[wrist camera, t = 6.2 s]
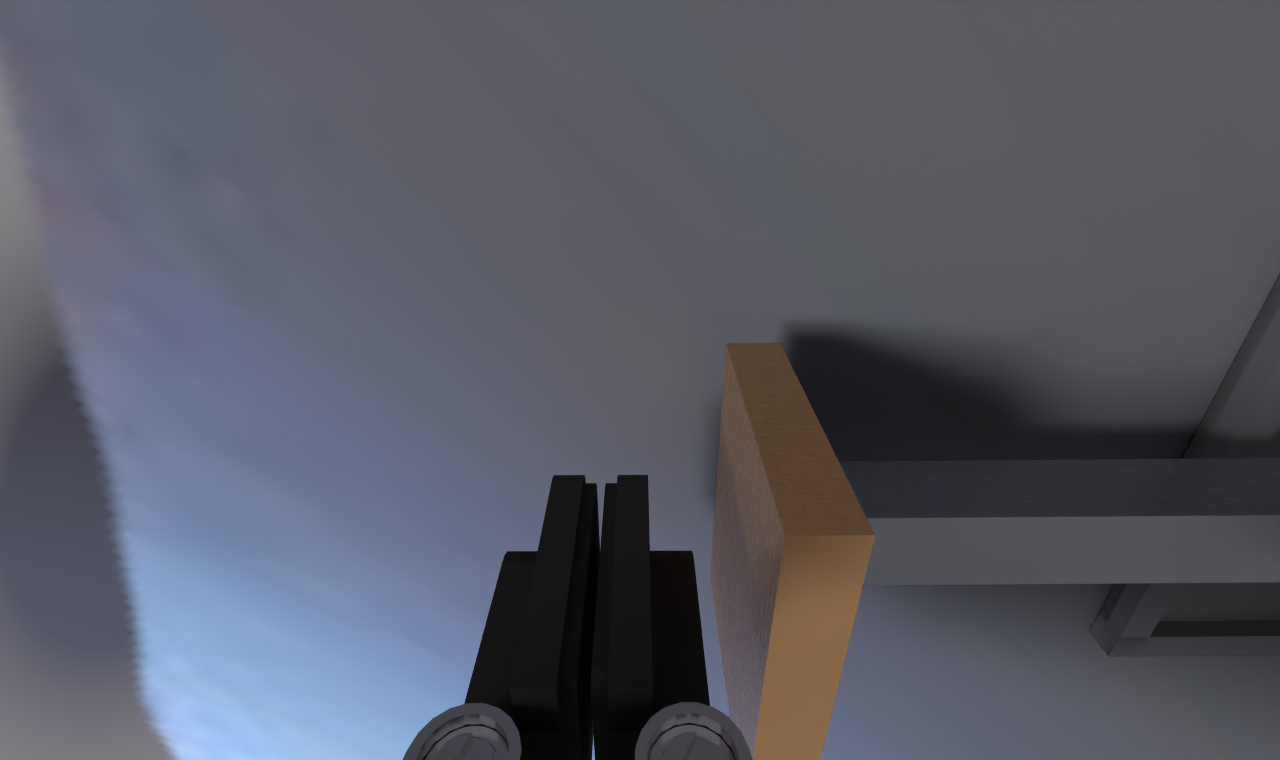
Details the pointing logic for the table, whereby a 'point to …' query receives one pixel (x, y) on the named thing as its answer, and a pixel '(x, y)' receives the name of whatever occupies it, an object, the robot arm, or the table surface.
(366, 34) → the table surface
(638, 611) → the robot arm
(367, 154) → the table surface
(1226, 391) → the tray
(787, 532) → the slider
